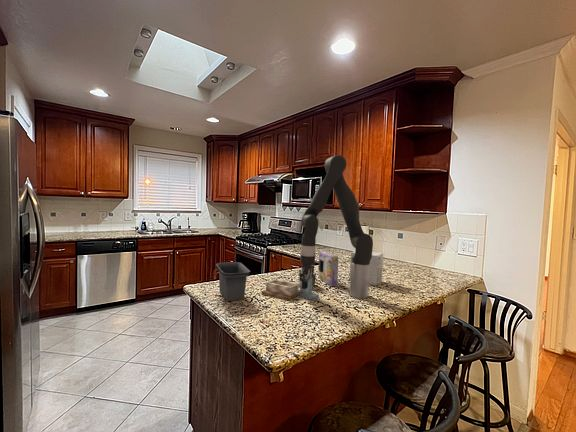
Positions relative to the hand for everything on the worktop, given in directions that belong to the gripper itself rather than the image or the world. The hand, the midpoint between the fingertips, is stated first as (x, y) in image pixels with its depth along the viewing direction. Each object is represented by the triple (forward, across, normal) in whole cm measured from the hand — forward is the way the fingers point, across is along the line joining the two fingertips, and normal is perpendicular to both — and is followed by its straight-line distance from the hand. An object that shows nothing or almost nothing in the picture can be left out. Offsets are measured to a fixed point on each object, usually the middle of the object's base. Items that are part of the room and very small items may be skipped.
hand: (306, 287), depth 149 cm
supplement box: (+5, +51, -18) cm, 54 cm away
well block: (+5, -3, +12) cm, 13 cm away
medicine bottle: (+5, +19, +8) cm, 21 cm away
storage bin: (+5, -21, +32) cm, 38 cm away
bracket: (+5, 0, -2) cm, 5 cm away
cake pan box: (+5, +33, +1) cm, 33 cm away
